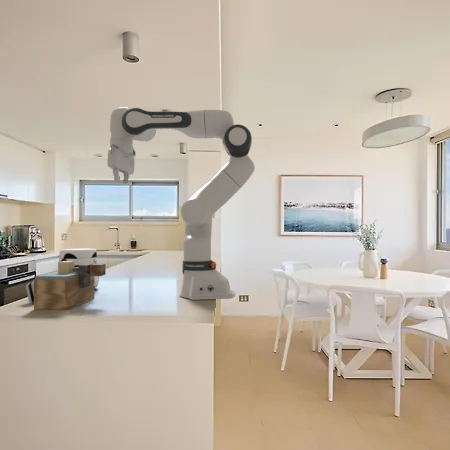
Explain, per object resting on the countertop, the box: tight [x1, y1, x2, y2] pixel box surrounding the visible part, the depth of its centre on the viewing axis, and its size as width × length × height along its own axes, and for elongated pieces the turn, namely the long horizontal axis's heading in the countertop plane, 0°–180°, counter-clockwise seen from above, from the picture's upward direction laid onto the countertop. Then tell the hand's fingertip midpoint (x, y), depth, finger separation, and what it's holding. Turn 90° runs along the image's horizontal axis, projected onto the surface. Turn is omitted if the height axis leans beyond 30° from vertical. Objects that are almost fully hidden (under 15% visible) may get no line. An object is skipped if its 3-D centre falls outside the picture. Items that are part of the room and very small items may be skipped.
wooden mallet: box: [72, 263, 107, 277], centre depth 129 cm, size 11×4×4 cm, turn 86°
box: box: [33, 264, 95, 311], centre depth 130 cm, size 15×20×14 cm
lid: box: [35, 261, 79, 280], centre depth 130 cm, size 11×19×6 cm, turn 176°
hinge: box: [25, 279, 35, 305], centre depth 138 cm, size 17×5×10 cm, turn 174°
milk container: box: [58, 247, 100, 289], centre depth 157 cm, size 17×17×18 cm
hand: (121, 182), depth 144 cm, fingers open, 8 cm apart
